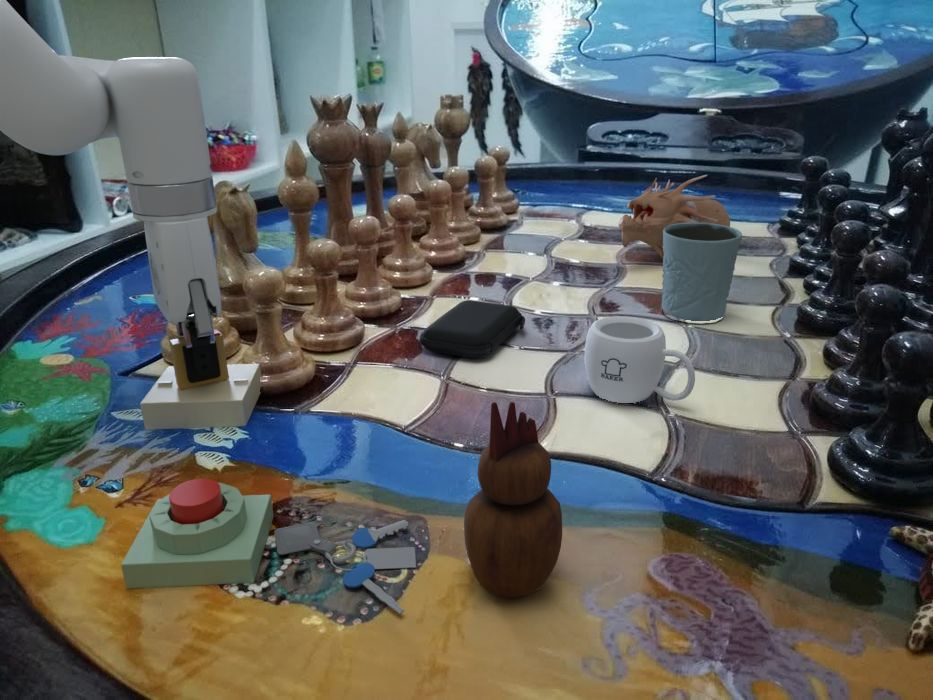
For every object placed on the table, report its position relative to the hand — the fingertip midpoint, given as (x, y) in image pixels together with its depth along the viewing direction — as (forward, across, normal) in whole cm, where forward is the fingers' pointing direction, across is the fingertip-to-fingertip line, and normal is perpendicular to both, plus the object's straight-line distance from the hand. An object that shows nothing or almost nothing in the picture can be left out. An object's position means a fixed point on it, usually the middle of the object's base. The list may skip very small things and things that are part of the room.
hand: (201, 374), depth 76 cm
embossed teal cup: (+4, +7, +65) cm, 66 cm away
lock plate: (+4, 0, 0) cm, 4 cm away
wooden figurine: (+4, +39, +12) cm, 41 cm away
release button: (0, +24, -6) cm, 25 cm away
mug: (+4, +22, +40) cm, 46 cm away
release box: (+4, +24, -6) cm, 25 cm away
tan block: (+1, 0, 0) cm, 1 cm away
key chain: (+4, +30, +4) cm, 31 cm away
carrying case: (+4, -1, +34) cm, 35 cm away
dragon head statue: (+4, -13, +82) cm, 84 cm away
